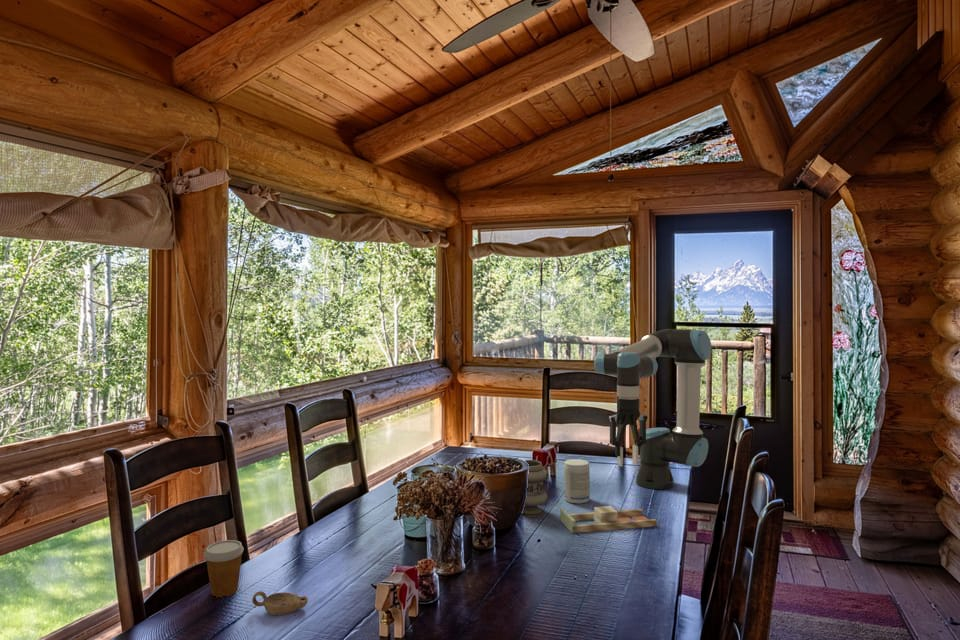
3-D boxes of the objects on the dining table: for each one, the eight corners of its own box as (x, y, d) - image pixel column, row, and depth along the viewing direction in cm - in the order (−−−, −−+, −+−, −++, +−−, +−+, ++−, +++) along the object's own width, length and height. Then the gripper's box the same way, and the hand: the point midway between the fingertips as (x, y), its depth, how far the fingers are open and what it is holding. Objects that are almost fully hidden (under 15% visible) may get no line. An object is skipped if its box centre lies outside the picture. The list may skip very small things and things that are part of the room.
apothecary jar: (508, 514, 214) (508, 464, 214) (521, 504, 225) (521, 456, 224) (539, 520, 209) (539, 468, 208) (552, 509, 219) (552, 460, 219)
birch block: (610, 520, 209) (610, 506, 209) (617, 526, 203) (617, 511, 203) (593, 521, 208) (594, 507, 208) (600, 527, 202) (600, 513, 202)
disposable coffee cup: (232, 580, 164) (232, 536, 163) (251, 590, 158) (250, 545, 157) (197, 593, 156) (197, 547, 156) (215, 604, 150) (215, 557, 150)
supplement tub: (594, 500, 230) (594, 462, 229) (579, 506, 223) (579, 466, 223) (574, 494, 237) (574, 457, 236) (558, 500, 230) (559, 461, 230)
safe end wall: (563, 520, 209) (563, 508, 208) (575, 532, 197) (575, 520, 197) (560, 520, 208) (560, 509, 208) (571, 532, 197) (571, 520, 197)
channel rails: (641, 514, 214) (641, 508, 214) (656, 526, 203) (656, 520, 203) (560, 520, 208) (561, 514, 208) (572, 532, 197) (572, 526, 197)
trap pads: (642, 515, 213) (642, 515, 213) (654, 524, 204) (654, 523, 204) (614, 518, 211) (614, 517, 211) (624, 526, 202) (624, 526, 202)
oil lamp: (311, 603, 151) (310, 583, 151) (303, 619, 144) (302, 598, 144) (258, 604, 151) (258, 584, 151) (247, 619, 143) (247, 599, 143)
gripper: (647, 395, 211) (646, 460, 212) (599, 396, 208) (598, 463, 208) (657, 398, 204) (657, 466, 205) (607, 400, 200) (607, 469, 201)
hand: (627, 464), depth 206 cm, fingers open, 5 cm apart
